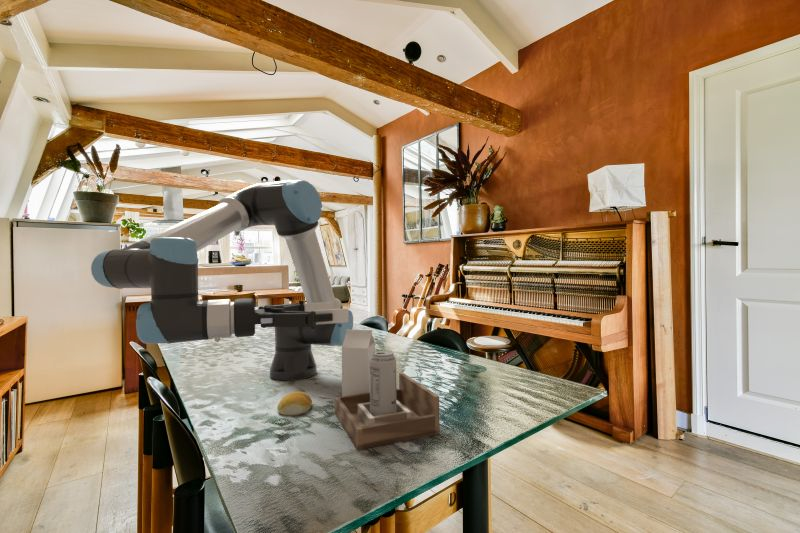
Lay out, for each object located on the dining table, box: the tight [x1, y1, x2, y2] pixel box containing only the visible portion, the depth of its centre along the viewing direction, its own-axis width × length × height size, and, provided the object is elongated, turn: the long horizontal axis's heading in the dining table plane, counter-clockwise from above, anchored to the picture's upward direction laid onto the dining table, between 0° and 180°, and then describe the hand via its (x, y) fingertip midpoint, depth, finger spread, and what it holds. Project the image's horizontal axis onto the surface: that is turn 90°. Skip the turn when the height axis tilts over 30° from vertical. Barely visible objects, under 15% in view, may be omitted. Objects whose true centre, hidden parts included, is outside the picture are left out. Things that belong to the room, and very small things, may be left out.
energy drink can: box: [370, 350, 397, 416], centre depth 86 cm, size 6×6×15 cm
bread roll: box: [276, 391, 313, 416], centre depth 95 cm, size 8×9×4 cm
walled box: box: [334, 372, 440, 451], centre depth 86 cm, size 20×18×8 cm
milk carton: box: [341, 329, 376, 396], centre depth 100 cm, size 7×7×19 cm
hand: (340, 311), depth 82 cm, fingers open, 13 cm apart
